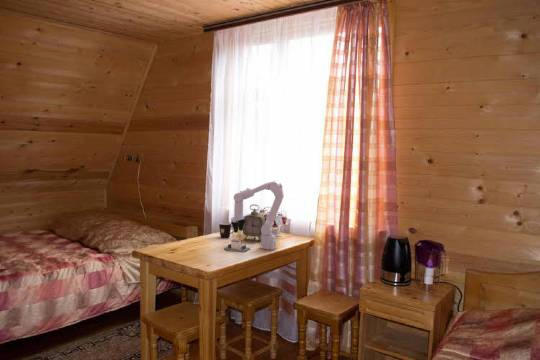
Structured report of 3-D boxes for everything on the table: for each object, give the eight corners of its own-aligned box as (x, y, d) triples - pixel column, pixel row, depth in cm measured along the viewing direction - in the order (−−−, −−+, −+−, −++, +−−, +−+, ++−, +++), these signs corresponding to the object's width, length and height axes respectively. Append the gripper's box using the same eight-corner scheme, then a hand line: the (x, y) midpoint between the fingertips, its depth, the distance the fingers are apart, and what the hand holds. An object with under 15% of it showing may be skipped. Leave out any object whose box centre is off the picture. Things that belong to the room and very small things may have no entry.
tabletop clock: (241, 240, 312) (242, 204, 310) (246, 237, 321) (247, 202, 318) (261, 242, 308) (262, 206, 306) (265, 239, 317) (266, 204, 314)
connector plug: (241, 247, 287) (241, 239, 287) (238, 249, 283) (238, 241, 283) (234, 246, 289) (234, 239, 288) (231, 248, 285) (231, 240, 285)
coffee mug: (216, 236, 321) (216, 223, 320) (226, 235, 326) (227, 221, 325) (225, 240, 311) (225, 225, 310) (235, 238, 317) (236, 224, 316)
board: (250, 249, 288) (250, 244, 288) (244, 252, 279) (244, 247, 279) (230, 246, 293) (230, 242, 292) (223, 249, 284) (224, 245, 284)
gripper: (237, 208, 303) (237, 228, 304) (228, 212, 289) (227, 232, 291) (247, 209, 300) (246, 229, 302) (238, 213, 287) (237, 234, 288)
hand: (238, 231), depth 296 cm, fingers open, 7 cm apart
